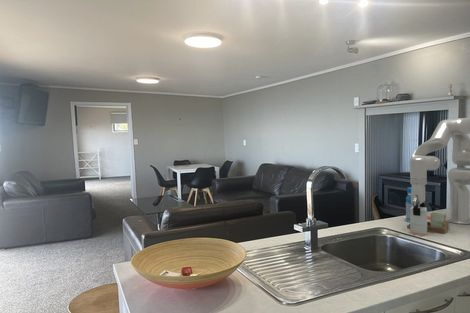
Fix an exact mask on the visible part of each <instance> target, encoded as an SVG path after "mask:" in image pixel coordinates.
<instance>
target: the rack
mask: <svg viewBox="0 0 470 313" xmlns="http://www.w3.org/2000/svg"><path fill="white" fill-rule="evenodd" d="M406 228H407V229H409V230H410V223H408V225H407V226H406ZM449 229H450V222H449V220H447V213H445V212H437V211H436V212H435V211H432V212H431V213H430V221H427V232H428V233H435V234H443V235H446V233H447V232H448V231H449Z"/></svg>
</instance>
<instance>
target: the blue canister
mask: <svg viewBox="0 0 470 313" xmlns="http://www.w3.org/2000/svg"><path fill="white" fill-rule="evenodd" d="M411 187H412V186H411ZM411 187H410V186H409V187H407V189H406V193H407V195H406V197H405V200H406V201H405V221H407V222H408V223H410V208H411V207H412V206H413V204H414V203H411Z"/></svg>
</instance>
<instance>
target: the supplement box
mask: <svg viewBox="0 0 470 313" xmlns="http://www.w3.org/2000/svg"><path fill="white" fill-rule="evenodd" d="M427 222H428V207H426V206H425V207H420V216H416V215H413V206H412V207H411V208H410V222H409V224H410V229H409V230H410V231H411V232H413V233H422V234H426V233H427V232H428V231H427Z"/></svg>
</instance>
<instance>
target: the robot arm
mask: <svg viewBox="0 0 470 313" xmlns="http://www.w3.org/2000/svg"><path fill="white" fill-rule="evenodd" d="M469 135H470V117H460V118H459V117H458V118H449V119H443V120H441V121H439V123H437V126H436V127H435V129H434V131H433V133H432V135H431V137H429V139H428V140H426V141H425V142H423V143H421V144H420V145H418V146H417V147H416V149H414V150H413V153H412V155H411V156H410V159H409V173H410V176H409V177H410V179H409V181H410V185H411V203H414V204H413V215H416V216H420V207H426V202H425V201H426V185H427V184H428V178H427V176H428V174H427V171H437V169H439V168H440V166H441V160H440V158H438V157H436V156H434V155H428V154H431V153H433V152H436V151H439V150H443V149H444V148H446V147H447V146H448V144H449V141H450V140H451V139H452V151H451V152H452V155H451V161H452V163H453V164H454V165H456V166H467V167H452V168H451V169H449V170H448V172H447V179H448V182H449V183H448V184H449V217H446V220H449V223H453V224H456V225H457V224H458V225H459V224H460V225H470V189H469V187H468V186H470V137H469ZM468 166H469V167H468Z"/></svg>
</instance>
